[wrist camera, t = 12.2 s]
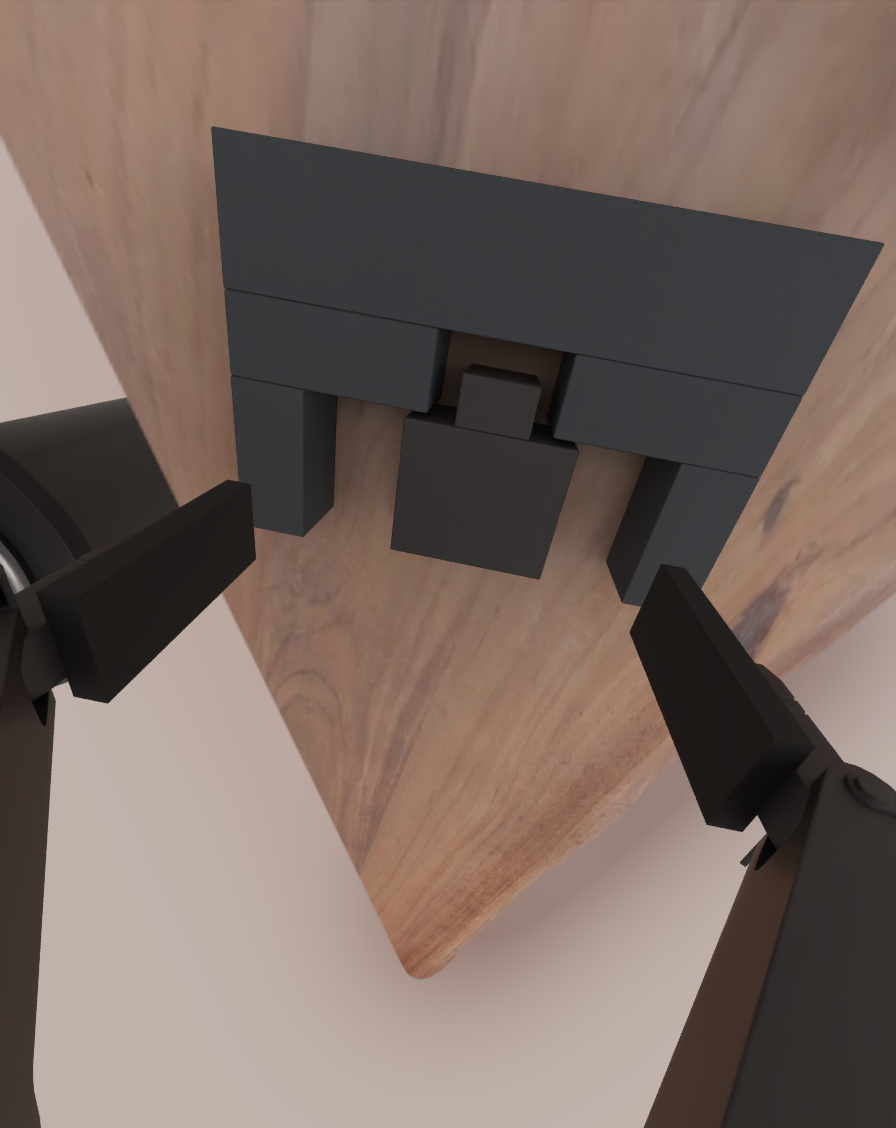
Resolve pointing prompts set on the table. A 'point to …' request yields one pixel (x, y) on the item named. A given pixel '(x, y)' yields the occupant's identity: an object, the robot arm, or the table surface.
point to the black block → (482, 477)
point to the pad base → (519, 326)
